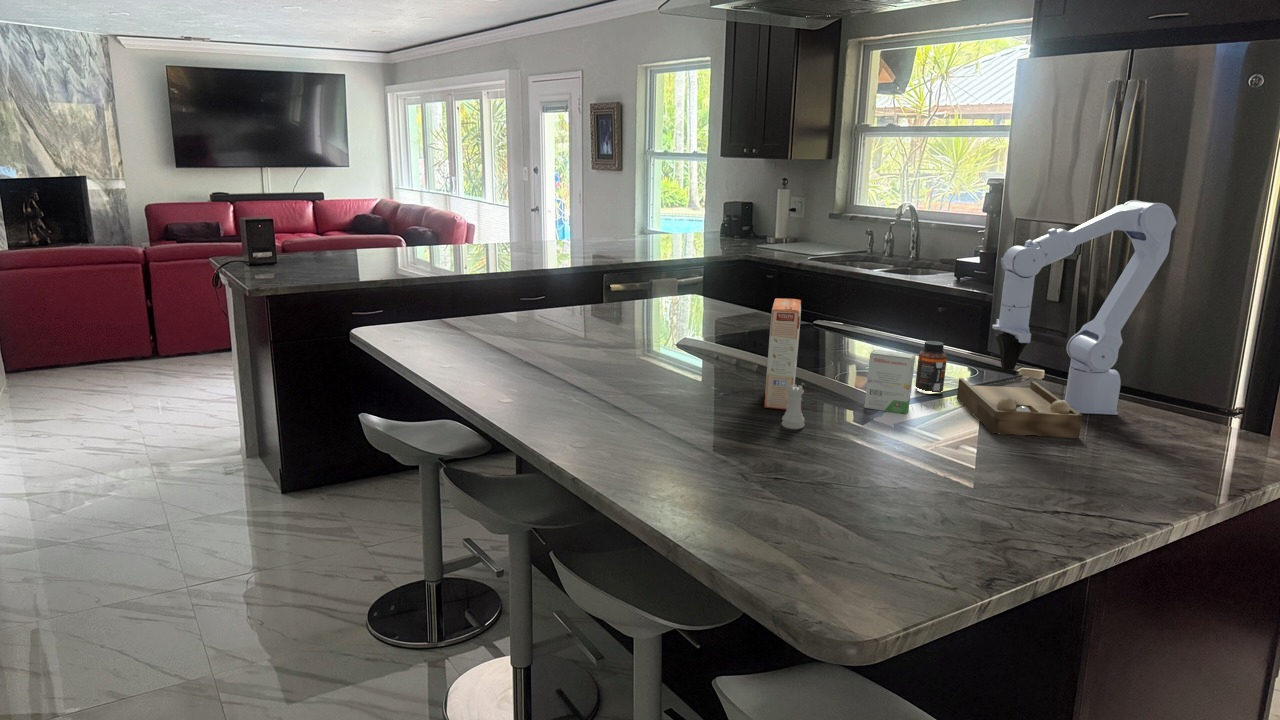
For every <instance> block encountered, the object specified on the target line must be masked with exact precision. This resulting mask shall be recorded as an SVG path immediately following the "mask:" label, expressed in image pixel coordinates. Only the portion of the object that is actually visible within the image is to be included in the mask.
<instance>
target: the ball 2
mask: <svg viewBox="0 0 1280 720" xmlns="http://www.w3.org/2000/svg"><path fill="white" fill-rule="evenodd" d="M1063 400H1064V399H1060V400H1057V401H1055V402H1053V403H1052V404H1051V407H1050V411H1051V413H1066V414H1069V412H1070V407H1069V405H1068V403H1067V402H1065V401H1063Z"/></svg>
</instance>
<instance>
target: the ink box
mask: <svg viewBox="0 0 1280 720" xmlns="http://www.w3.org/2000/svg"><path fill="white" fill-rule="evenodd" d="M868 360H869V362H868V370H867V371H868V373H867V380H866V391H865V402H864V408H865V409H869V410H876V411H877V410H878V411H882V412H889V413H896V414H902V415H906V414H907V413H908V412H909V409H910V402H911V393H912V388H913V387H912V385H913V378H914V372H915V371H914V370H915V363H916V354H912V353H905V352H899V351H889V350H883V349H874V350H872V351H871V352H870V353H869V359H868Z"/></svg>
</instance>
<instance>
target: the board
mask: <svg viewBox="0 0 1280 720" xmlns="http://www.w3.org/2000/svg"><path fill="white" fill-rule="evenodd" d="M1003 398H1010V399H1012V400H1014V402H1015V403H1016V408H1018V407H1020V406H1025V407H1027V408H1029V409H1030V410H1031V412H1022V411H1000V410H998V409H997V404H998V402H999V401H1000V400H1001V399H1003ZM956 399H957V400H958V399H959V400H960V401H961V402H962V403H963V404H964V405H965V406H966V407H965V406H964V405H963V404H962V403H961V402H960V401H959V402H960V403H961V404H962V405H963V406H964V407H965V408H966V409H967V408H968V409H967V410H968V411H969V410H970V411H969V412H970V413H971V414H972V413H973V414H974V415H975V416H976V417H977V418H978V419H979V420H980V421H981V422H982V423H983V424H984V425H985V426H986V427H987V428H988V429H989V430H990V431H991V432H992V433H1000V434H999V435H1004V434H1014V435H1013V436H1025V435H1037V436H1036V437H1046V436H1050V437H1049V438H1069V439H1070V438H1071V439H1080V434H1081V427H1082V422H1083V415H1082V413H1078V412H1077V411H1076V410H1074V409H1073V408H1071V407H1070V406H1069V407H1070V412H1069V414H1066V413H1051V411H1050V407H1051V404H1052V403H1053V402H1055V401H1057V400H1061V399H1060V398H1059V397H1058V396H1056V395H1055V394H1053V393H1052V392H1050V391H1049V390H1048V389H1046V388H1045V387H1043V386H1042V385H1041V384H1039V383H1038V382H1037V381H1034V380H1033V381H1032V380H1030V387H1019V386H1017V387H1016V386H1015V387H1014V386H993V385H990V386H989V385H971V384H970V383H969V382H967V380H965V378H964V377H961V378H958V384H957V392H956ZM973 414H972V415H973ZM974 415H973V416H974ZM975 416H974V417H975ZM976 417H975V418H976ZM977 418H976V419H977ZM978 419H977V420H978ZM979 420H978V421H979ZM980 421H979V422H980ZM981 422H980V423H981ZM982 423H981V424H982ZM983 424H982V425H983ZM984 425H983V426H984ZM985 426H984V427H985ZM986 427H985V428H986ZM987 428H986V429H987ZM988 429H987V430H988ZM989 430H988V431H989ZM990 431H989V432H990ZM991 432H990V433H991ZM992 433H991V434H992ZM1015 434H1017V435H1015Z"/></svg>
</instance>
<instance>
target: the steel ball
mask: <svg viewBox="0 0 1280 720" xmlns="http://www.w3.org/2000/svg"><path fill="white" fill-rule="evenodd" d="M1015 411H1022V412H1031V410H1030V409H1029V408H1027V407H1025V406H1020V407H1018V408H1016V410H1015Z"/></svg>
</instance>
